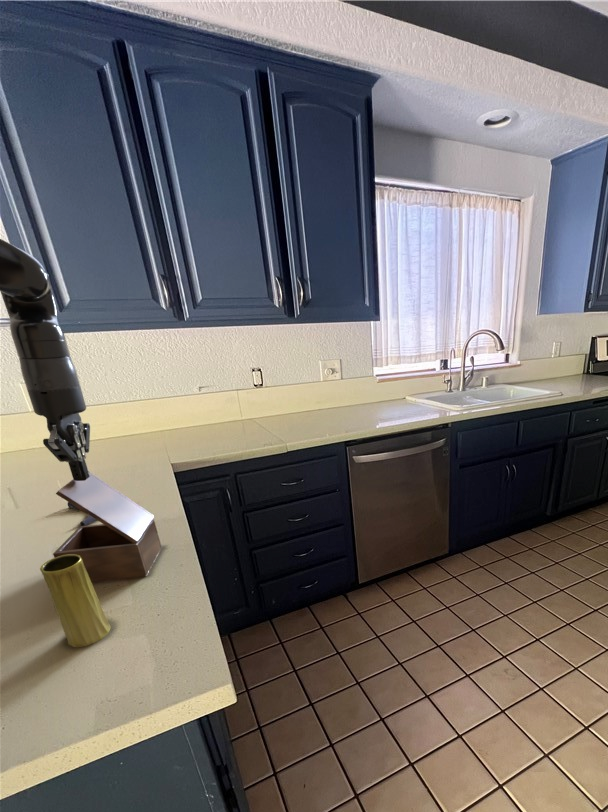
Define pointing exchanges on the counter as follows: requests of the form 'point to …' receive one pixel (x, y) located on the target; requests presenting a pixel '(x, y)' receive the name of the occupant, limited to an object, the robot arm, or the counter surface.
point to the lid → (107, 506)
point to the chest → (112, 552)
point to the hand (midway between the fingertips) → (82, 479)
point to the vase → (75, 600)
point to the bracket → (87, 520)
